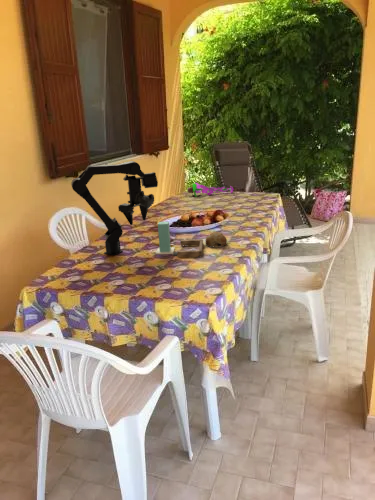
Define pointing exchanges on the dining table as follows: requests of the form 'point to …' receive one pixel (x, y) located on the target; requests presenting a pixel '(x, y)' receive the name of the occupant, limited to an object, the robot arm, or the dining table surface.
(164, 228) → the teal block
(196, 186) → the purple flower spray
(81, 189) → the robot arm
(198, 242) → the walnut frame
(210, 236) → the bread roll
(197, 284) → the dining table surface
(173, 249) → the white tile
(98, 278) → the dining table surface
